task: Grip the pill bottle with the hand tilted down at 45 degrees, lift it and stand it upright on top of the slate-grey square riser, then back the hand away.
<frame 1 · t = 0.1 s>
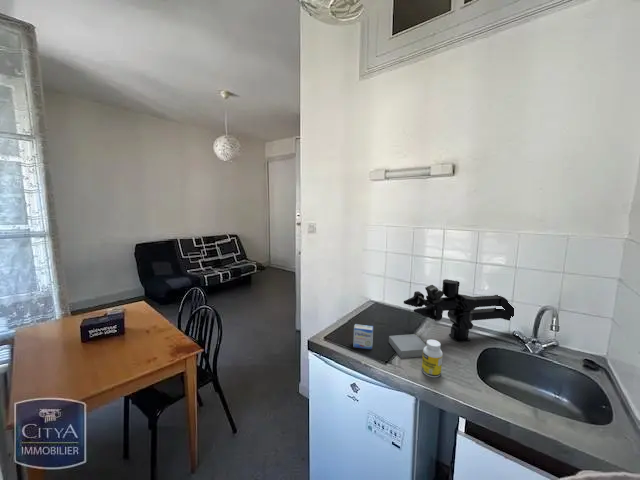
hand: (408, 306, 119), 17 cm above the worktop, tool horizontal, fingers open, 9 cm apart
medicine box: (363, 346, 119), on the worktop
riser: (408, 348, 117), on the worktop
pill bottle: (431, 372, 101), on the worktop
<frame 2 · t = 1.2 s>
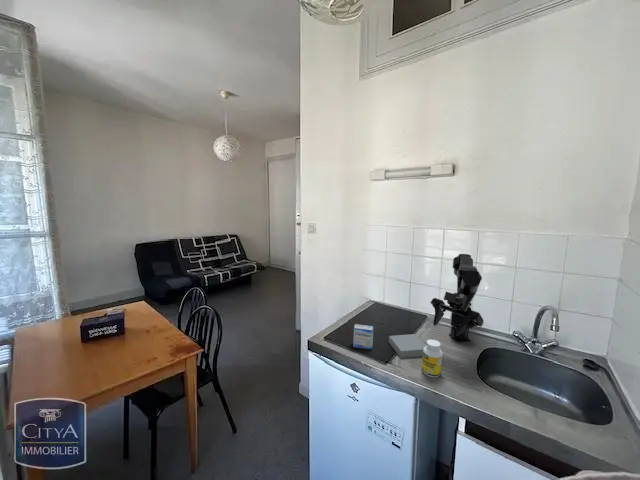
hand: (445, 329, 104), 14 cm above the worktop, tool tilted 45°, fingers open, 9 cm apart
nothing on the worktop moved.
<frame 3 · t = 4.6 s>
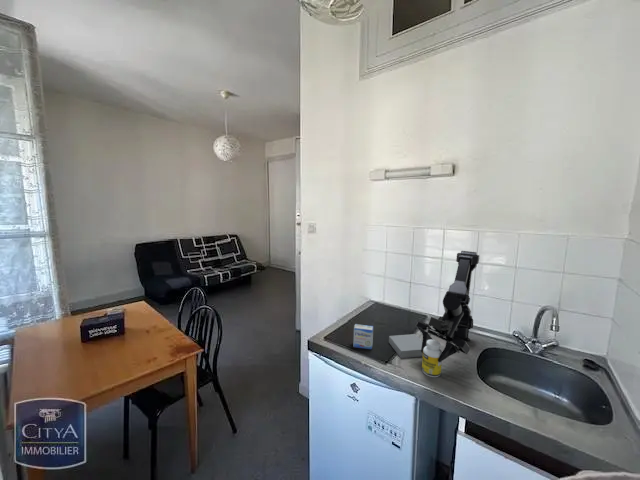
hand: (430, 356, 99), 7 cm above the worktop, tool tilted 45°, fingers closed on pill bottle, 6 cm apart
pill bottle: (431, 372, 101), on the worktop, touching gripper
everything else where it was.
when the fingers open (11 cm above the worktop, at t = 8.7 s): pill bottle stays where it is, resting on riser.
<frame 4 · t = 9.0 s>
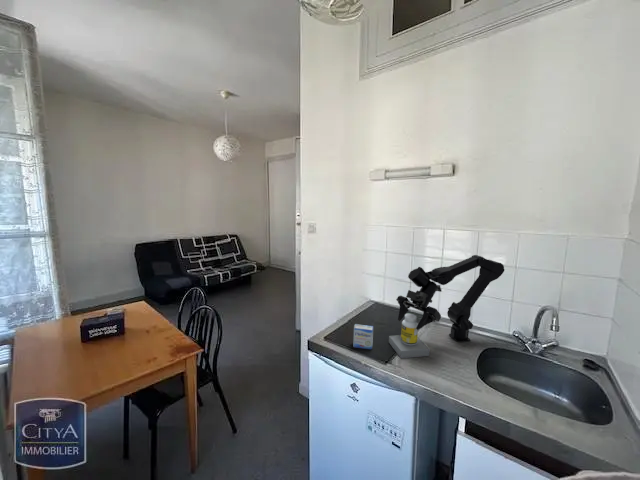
hand: (407, 324, 114), 11 cm above the worktop, tool tilted 45°, fingers open, 9 cm apart
pill bottle: (408, 342, 116), point 3 cm above the worktop, touching riser
everything else where it was.
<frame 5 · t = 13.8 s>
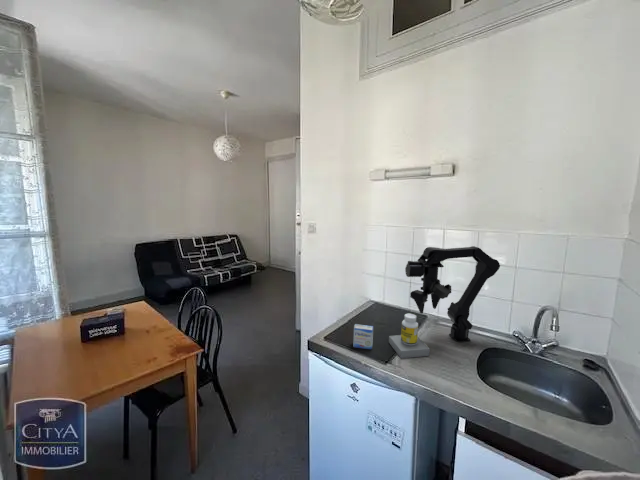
hand: (428, 310, 123), 13 cm above the worktop, tool pointing down, fingers open, 9 cm apart
nothing on the worktop moved.
at the end: pill bottle 0.2 cm off-centre on the riser, point 2.8 cm above the riser's base; pill bottle tilted 0°; the gripper is holding nothing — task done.
